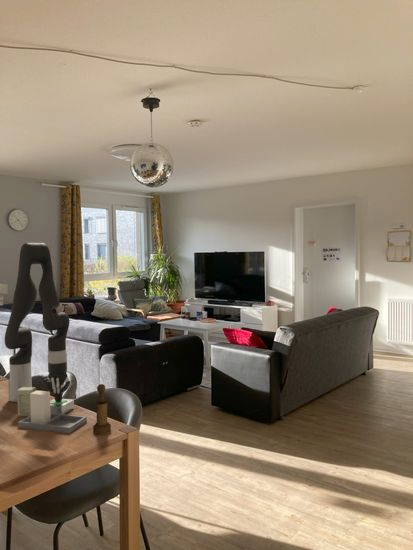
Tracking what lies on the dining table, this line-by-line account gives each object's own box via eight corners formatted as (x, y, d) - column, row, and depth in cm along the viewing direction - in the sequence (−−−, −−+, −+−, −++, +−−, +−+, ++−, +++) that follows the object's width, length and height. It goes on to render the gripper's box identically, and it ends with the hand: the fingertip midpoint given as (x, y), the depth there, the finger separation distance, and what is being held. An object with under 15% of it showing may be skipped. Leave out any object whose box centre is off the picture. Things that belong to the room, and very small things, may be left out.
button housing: (42, 416, 188) (42, 404, 187) (55, 409, 196) (55, 398, 196) (61, 418, 185) (61, 406, 185) (74, 411, 194) (73, 399, 194)
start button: (49, 410, 189) (49, 403, 189) (57, 406, 194) (56, 399, 194) (60, 411, 188) (60, 404, 187) (67, 407, 192) (67, 400, 192)
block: (31, 424, 176) (30, 393, 175) (37, 420, 180) (36, 390, 179) (44, 425, 174) (43, 394, 173) (50, 421, 178) (49, 391, 177)
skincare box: (37, 416, 189) (36, 386, 188) (32, 419, 184) (31, 390, 184) (22, 415, 189) (21, 386, 189) (17, 419, 185) (16, 389, 184)
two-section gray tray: (18, 431, 173) (17, 422, 173) (38, 419, 184) (37, 411, 184) (69, 437, 166) (69, 428, 166) (87, 425, 178) (86, 416, 178)
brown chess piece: (114, 431, 172) (113, 384, 171) (99, 436, 167) (98, 388, 166) (104, 426, 176) (103, 381, 175) (89, 431, 172) (88, 384, 171)
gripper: (76, 359, 191) (77, 400, 192) (49, 357, 195) (50, 397, 196) (66, 363, 184) (67, 405, 185) (38, 361, 188) (39, 403, 189)
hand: (58, 401), depth 190 cm, fingers closed
